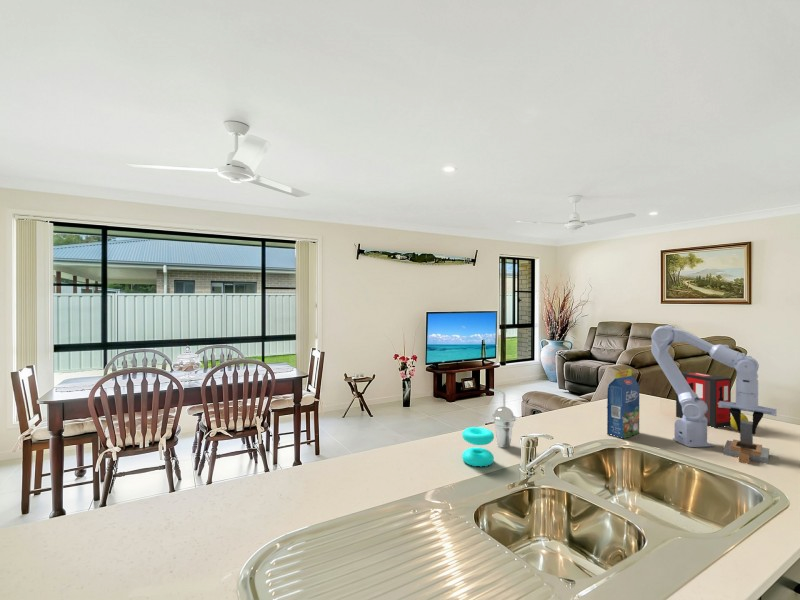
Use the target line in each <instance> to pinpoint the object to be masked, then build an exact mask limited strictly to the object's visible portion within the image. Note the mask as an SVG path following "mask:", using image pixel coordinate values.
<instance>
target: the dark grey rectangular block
mask: <svg viewBox="0 0 800 600" xmlns="http://www.w3.org/2000/svg"><path fill="white" fill-rule="evenodd" d="M752 429H753V421H750V420H748V421H745V420H741V422H740V432H739V435H740V436H739V441H740V443H742V444H747V445H752V444H753V443H754V434H752Z"/></svg>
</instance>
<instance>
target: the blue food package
mask: <svg viewBox="0 0 800 600" xmlns="http://www.w3.org/2000/svg"><path fill="white" fill-rule="evenodd" d="M614 373H615V374H614V379H613V380H612V381H611V382H610V383H609V384H608V387H607V395H606V397H607V400H606V403H607V404H606V405H607V410H606V412H607V413H606V414H607V415H606V416H607V417H606V421H607V423H606V425H607V426H606V427H607V428H606V430H607V431H606V434H607V435H608V434H612V435H615V436H618V437H622V438H624V439H627V438H629V436H630V437H633V436H632V435H634V436H635V434H636V435H637V434H640V386H639V382H637V380H636V379H635V377H634V376H633V375H632V374H633V369H632V368H629V369H623V370H616V371H615V372H614ZM626 437H627V438H626Z"/></svg>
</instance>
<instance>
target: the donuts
mask: <svg viewBox="0 0 800 600" xmlns="http://www.w3.org/2000/svg"><path fill="white" fill-rule="evenodd" d="M494 438H495V435H494V432H493V431H492V430H490V429H488V428H486V427H481V426H472V427H471V426H470V427H467V428H465V429H464V430H463V431H462V439H464V441H465V442H466V443H468V444H471V445H475V446H476V447H475V446H473V447H468V448H467V449H465V450H464V451H463V452H462V456H461V458H462V460H463V461H464V463H465V464H467V465H469V466H471V465H472V467H476V466H480V467H479V468H483V467H482V466H485V467H488V465H489V466H490V465H492V464H493V463H494V459H495V458H494V454H493V453H492V452H491V451H490V450H488V449H486V448H483V447H478V446H486V445H489V444H491V443H492V442H493V440H494Z"/></svg>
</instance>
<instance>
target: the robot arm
mask: <svg viewBox="0 0 800 600" xmlns="http://www.w3.org/2000/svg"><path fill="white" fill-rule="evenodd" d="M650 337H651V347H650V348H651V349H650V351H651V354H652V356H653V357H654V359H655V361H656V363H657V364H658V365H659V367H660V369H661V370H662V373H663V374H664V375H665V377H666V378H667V380H668V381H669V383H670V385H671V387H672V388H673V390H674V392H675V394H676V393H677V395H678V398H679V402H680V404H681V406H682V412H683V414H684V415H683V417H682V418H678V419H676V420H675V422H674V437H673V438H672V440H673V441H675V442H678V443H679V444H682V445H683V446H684V445H685V446H686V447H688V448H701V447H702V448H703V447H705V448H706V447H707V448H708V447H709V448H710V447H714V444H712V443H709V442H708V426H707V418H706V417H705V415H704V414H705V413H706V412H707V411H708V407H707V404H706V403H705V402H704V401H703V400H701V399H700V398H699V397H698V396H697V394H696V393H695V392H694V391H693V390H692V389H691V387H690V386H689V384H688V383H687V381H686V380H685V378H684V376H683V375H682V373H681V372H682V371H681V370H680V368H679V367H678V366H677V364H676V362H675V361H674V359H673V357H672V356H671V354H670V353H669V350H670V348H671V346H672V344H673V343H679V342H680V343H686V344H689V345H691V346H693V347H695V348H697V349H699V350H702V351H704V352H706V353H707V354H709V356H710V358H711V359H712V360H715V361H717V362H719V363H721V364H723V365H724V366H727V367H729V368H734V369H735V371H736V377H735V402H732V401H731V402H724V401H719V407H720V408H730V409H731V411H730V412H731V416H733V418H734V420H735V422H736V425H737V428H738V431H737V432H738V433H740V422H741V413H742V411H743V412H751V413H752V422H753V429H752V434H753V436H754V435H756V431H757V427H758V426H759V424H760V422H761V420H762V418H763V417H764V415H769V416H774V417H777V408H771V407H768V406H767V407H766V406H763V405H762V406H760V405H759V379H758V378H759V374H758V370H759V368H760V364H759V362H758V361H757V360H756V358H753V357H752V356H751V355H746V353H744V352H739V351H736V350H734V349H732V348H730V345H728V344H712V343H711V342H708V341H706V340H705V339H702V338H700V337H698V336H696V335H694V334H693V333H690V332H689V331H686V330H684V329H682V328H679V327H675V326H673V325H671V324H666V325H661V326H660V325H659V326H658V327H655V328H654V330H653V332H652V333H651V335H650Z"/></svg>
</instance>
